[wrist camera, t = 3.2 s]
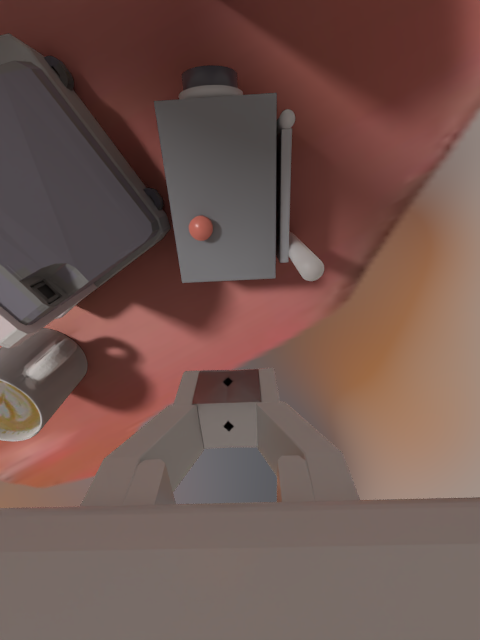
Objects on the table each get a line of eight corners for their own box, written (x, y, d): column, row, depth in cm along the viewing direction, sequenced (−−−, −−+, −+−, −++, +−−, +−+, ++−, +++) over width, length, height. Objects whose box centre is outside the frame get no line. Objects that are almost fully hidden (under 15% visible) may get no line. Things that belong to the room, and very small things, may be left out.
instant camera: (-92, 142, 27) (-411, 104, 14) (69, 22, 23) (-164, -195, 10) (55, 314, 36) (-56, 392, 23) (191, 248, 32) (154, 296, 19)
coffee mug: (51, 393, 42) (-1, 451, 33) (-1, 344, 38) (-76, 394, 29) (120, 362, 39) (85, 416, 30) (73, 306, 35) (15, 348, 26)
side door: (271, 125, 26) (291, 86, 16) (300, 123, 26) (340, 83, 16) (271, 248, 31) (286, 282, 21) (295, 247, 31) (323, 280, 21)
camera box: (171, 94, 25) (144, 60, 18) (269, 87, 25) (280, 50, 18) (193, 263, 32) (180, 285, 26) (270, 259, 32) (277, 280, 25)
